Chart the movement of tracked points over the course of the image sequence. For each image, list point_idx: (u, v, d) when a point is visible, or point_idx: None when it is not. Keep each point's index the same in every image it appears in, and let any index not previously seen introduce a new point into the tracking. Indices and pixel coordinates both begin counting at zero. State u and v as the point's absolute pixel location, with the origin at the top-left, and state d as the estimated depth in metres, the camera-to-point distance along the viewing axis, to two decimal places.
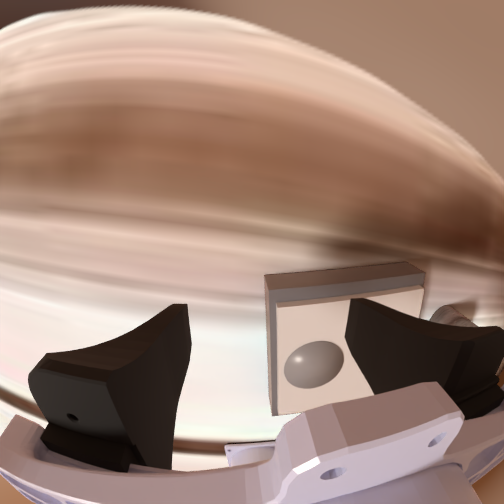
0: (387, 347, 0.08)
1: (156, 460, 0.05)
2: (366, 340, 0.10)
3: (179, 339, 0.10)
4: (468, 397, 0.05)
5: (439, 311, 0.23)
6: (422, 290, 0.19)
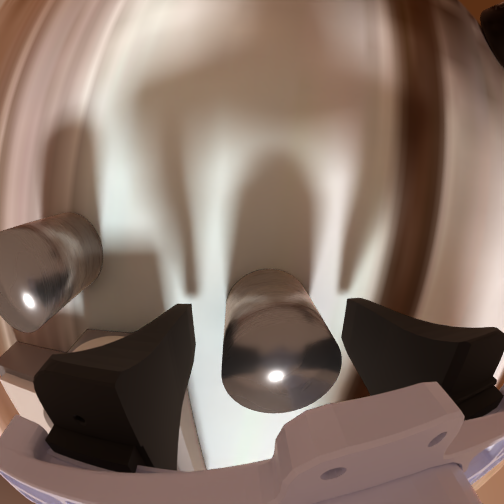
0: (383, 348, 0.08)
1: (162, 461, 0.05)
2: (362, 341, 0.10)
3: (184, 339, 0.10)
4: (464, 398, 0.05)
5: None
6: (2, 378, 0.10)
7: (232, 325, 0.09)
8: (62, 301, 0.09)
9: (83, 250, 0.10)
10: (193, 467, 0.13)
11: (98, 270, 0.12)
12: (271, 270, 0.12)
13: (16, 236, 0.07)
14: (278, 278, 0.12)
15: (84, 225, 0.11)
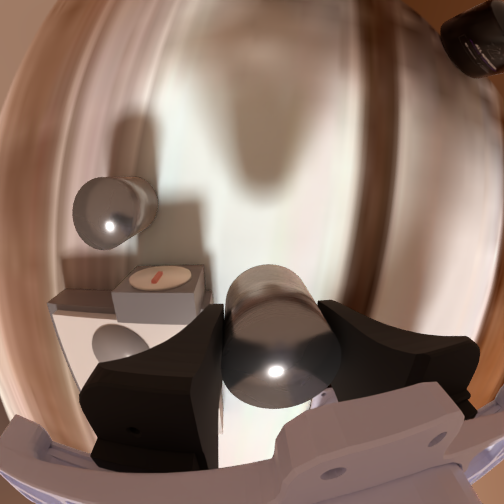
0: (348, 353, 0.08)
1: (212, 465, 0.05)
2: None
3: (220, 340, 0.10)
4: None
5: None
6: (55, 313, 0.16)
7: (231, 319, 0.09)
8: (137, 228, 0.15)
9: (149, 198, 0.16)
10: None
11: (154, 216, 0.18)
12: (271, 266, 0.12)
13: (113, 179, 0.13)
14: (279, 273, 0.12)
15: (147, 184, 0.17)
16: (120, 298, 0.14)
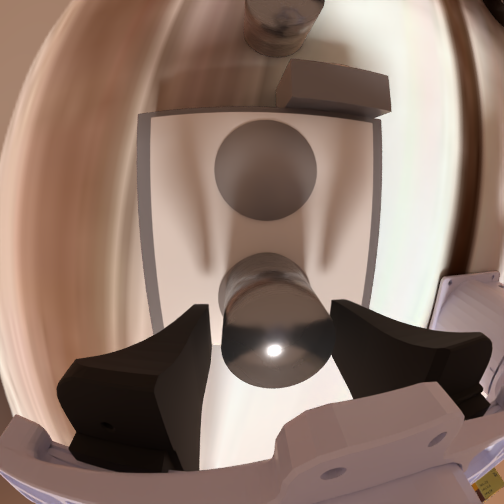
0: (365, 351, 0.08)
1: (189, 464, 0.05)
2: (346, 343, 0.10)
3: (203, 339, 0.10)
4: None
5: (248, 42, 0.13)
6: (156, 117, 0.12)
7: (238, 293, 0.10)
8: (313, 22, 0.11)
9: None
10: (377, 233, 0.14)
11: None
12: (277, 254, 0.13)
13: None
14: (284, 261, 0.12)
15: None
16: (303, 66, 0.10)
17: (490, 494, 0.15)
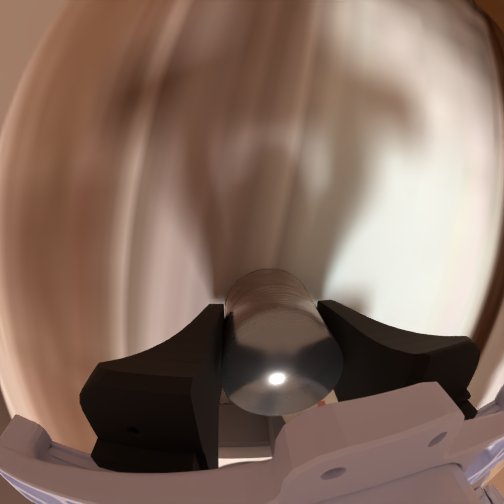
0: (348, 353, 0.08)
1: (212, 465, 0.05)
2: None
3: (220, 340, 0.10)
4: None
5: None
6: None
7: None
8: None
9: None
10: None
11: None
12: None
13: (316, 327, 0.08)
14: None
15: (302, 286, 0.12)
16: None
17: None
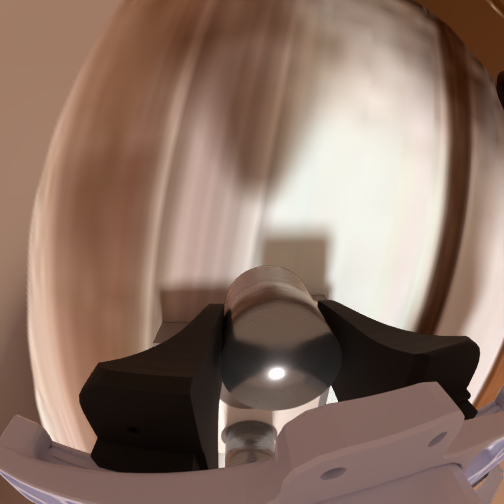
0: (348, 353, 0.08)
1: (212, 465, 0.05)
2: None
3: (220, 340, 0.10)
4: None
5: None
6: None
7: (232, 459, 0.15)
8: None
9: None
10: (326, 399, 0.20)
11: None
12: (255, 423, 0.19)
13: (315, 321, 0.08)
14: (258, 431, 0.18)
15: (301, 282, 0.12)
16: None
17: None
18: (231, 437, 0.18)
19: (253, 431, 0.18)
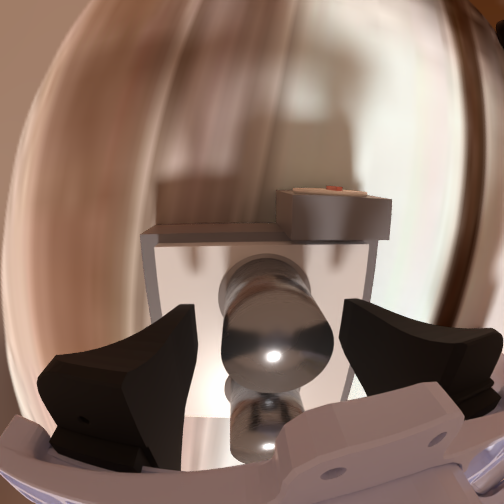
0: (380, 348, 0.08)
1: (167, 461, 0.05)
2: (359, 341, 0.10)
3: (187, 339, 0.10)
4: (461, 400, 0.05)
5: None
6: (159, 246, 0.13)
7: (241, 412, 0.12)
8: None
9: None
10: None
11: None
12: None
13: (309, 305, 0.09)
14: None
15: (298, 274, 0.13)
16: (304, 203, 0.12)
17: None
18: None
19: None
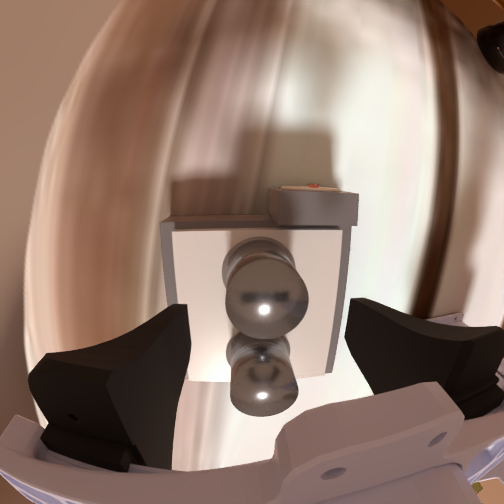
0: (387, 347, 0.08)
1: (156, 460, 0.05)
2: (366, 340, 0.10)
3: (179, 339, 0.10)
4: (468, 397, 0.05)
5: None
6: (175, 231, 0.17)
7: (240, 364, 0.15)
8: None
9: None
10: (342, 306, 0.20)
11: None
12: None
13: (288, 267, 0.13)
14: None
15: (284, 252, 0.17)
16: (288, 197, 0.16)
17: None
18: (238, 344, 0.18)
19: None
